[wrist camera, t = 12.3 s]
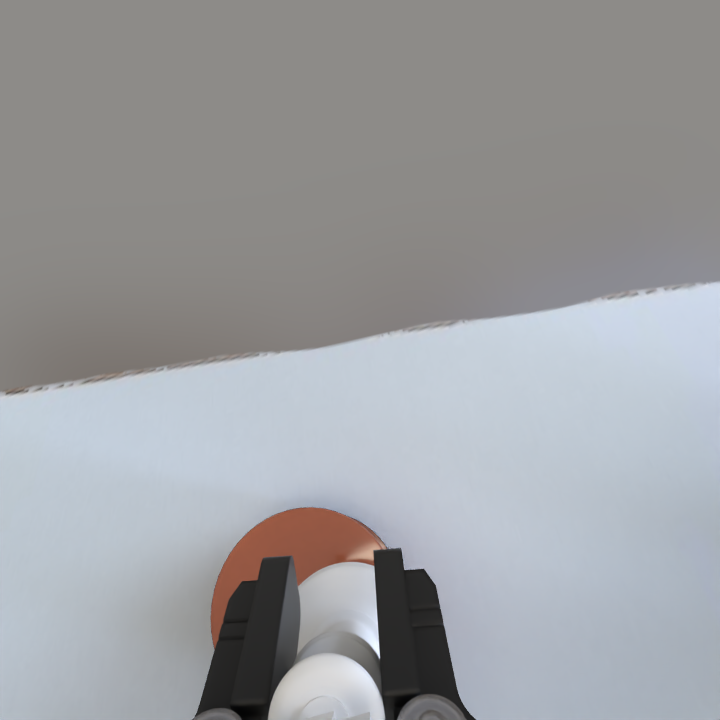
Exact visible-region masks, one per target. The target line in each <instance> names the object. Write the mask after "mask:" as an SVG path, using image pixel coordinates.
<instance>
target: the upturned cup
mask: <svg viewBox="0 0 720 720" xmlns="http://www.w3.org/2000/svg"><path fill="white" fill-rule="evenodd" d="M381 549H387V547H386V546H385V544H384V543H383V542H382V541H381V539H380V538H379V537H378V536H377V535H376V534H375V533H374V532H373V531H372V530H371V529H370V528H368V527H367V526H366V525H364V524H363V523H361V522H359V521H357V520H355V519H353V518H351V517H348V516H346V515H343V514H341V513H338V512H336V511H332V510H328V509H324V508H314V507H308V508H296V509H291V510H287V511H284V512H281V513H278V514H275V515H273V516H271V517H269V518H267V519H265V520H264V521H262V522H261V523H259V524H258V525H256V526H255V527H254V528H252V529H251V530H250V531H249V532H248V533H247V534H246V535H245V536H244V537H243V538H242V539H241V540H240V541H239V542H238V543H237V545H236V546H235V547H234V549H233V550H232V551H231V553H230V554H229V556H228V558H227V559H226V561H225V563H224V565H223V567H222V569H221V572H220V574H219V576H218V579H217V582H216V586H215V589H214V594H213V599H212V605H211V633H212V639H213V645H214V649H215V647H216V644H217V641H218V639H219V637H218V636H219V633H220V629H221V626H222V624H223V618H224V615H225V611H226V608H227V604H228V600H229V598H230V597H231V596H232V594H233V593H234V591H235V590H236V589H237V587H238V586H239V585H240V583H241V582H242V581H252V580H257V579H258V575H259V570H260V566H261V562H262V559H263V558H264V557H277V556H291V555H292V556H293V559H294V565H295V571H296V577H297V584H298V586H299V585H300V584H301V583H302V582H303V581H304V580H305V579H307V578H308V577H309V576H311V575H312V574H313V573H315V572H317V571H318V570H320V569H322V568H324V567H327V566H330V565H333V564H337V563H342V562H360V563H365V564H369V565H373V566H374V554H373V550H381Z"/></svg>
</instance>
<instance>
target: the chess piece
mask: <svg viewBox="0 0 720 720" xmlns="http://www.w3.org/2000/svg"><path fill="white" fill-rule="evenodd" d="M298 590H299V596H300V609H301V617H300V631H299V640H298V650H297V657H296V659H295V661H294V663H293V666H292V668H291V669H290V670H289V671H288V672H287V673H286V675H285V676H284V677H283V679H282V680H281V681H280V683H279V685H278V687H277V689H276V691H275V693H274V695H273V698H272V701H271V704H270V709H269V714H268V720H385V712H384V706H383V699H382V683H381V667H380V651H379V635H378V619H377V603H376V586H375V570H374V566H373V565H369V564H365V563H360V562H342V563H337V564H333V565H330V566H327V567H324V568H322V569H320V570H318V571H317V572H315V573H313V574H312V575H311V576H309V577H308V578H307V579H305V580H304V581H303V582H302V583H301V584H300V585H299V586H298Z"/></svg>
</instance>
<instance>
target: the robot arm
mask: <svg viewBox="0 0 720 720" xmlns="http://www.w3.org/2000/svg"><path fill="white" fill-rule="evenodd" d="M373 554H374V570H375V586H376V603H377V619H378V635H379V651H380V667H381V683H382V699H383V706H384V712H385V720H476V719H475V718H474V717H473V716H472V715H471V714H470V713H469V712H468V711H467V709H466V708H465V707H464V705H463V703H462V701H461V699H460V697H459V694H458V691H457V687H456V682H455V677H454V672H453V667H452V662H451V658H450V653H449V648H448V643H447V638H446V633H445V628H444V625H443V619H442V614H441V609H440V604H439V599H438V594H437V590H436V585H435V584H434V582H433V581H432V580H431V578H430V577H429V575H428V574H427V573H426V571H425V570H424V569H416V570H404V565H403V558H402V551H401V548H396V549H381V550H373ZM300 617H301V609H300V596H299V590H298V584H297V577H296V571H295V565H294V559H293V556H292V555H291V556H277V557H264V558H263V559H262V562H261V566H260V570H259V575H258V579H257V580H252V581H242V582H241V583H240V585H239V586H238V587H237V589H236V590H235V591H234V593H233V594H232V596H231V597H230V598H229V600H228V604H227V608H226V611H225V615H224V618H223V624H222V626H221V629H220V633H219V636H218V637H219V639H218V641H217V644H216V647H215V651H214V654H213V658H212V662H211V665H210V669H209V672H208V676H207V680H206V683H205V687H204V690H203V694H202V698H201V701H200V705H199V708H198V711H197V713H196V715H195V717H194V718H193V719H192V720H268V714H269V709H270V704H271V701H272V698H273V695H274V693H275V691H276V689H277V687H278V685H279V683H280V681H281V680H282V679H283V677H284V676H285V675H286V673H287V672H288V671H289V670H290V669H291V668H292V666H293V663H294V661H295V659H296V657H297V650H298V640H299V631H300Z"/></svg>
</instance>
